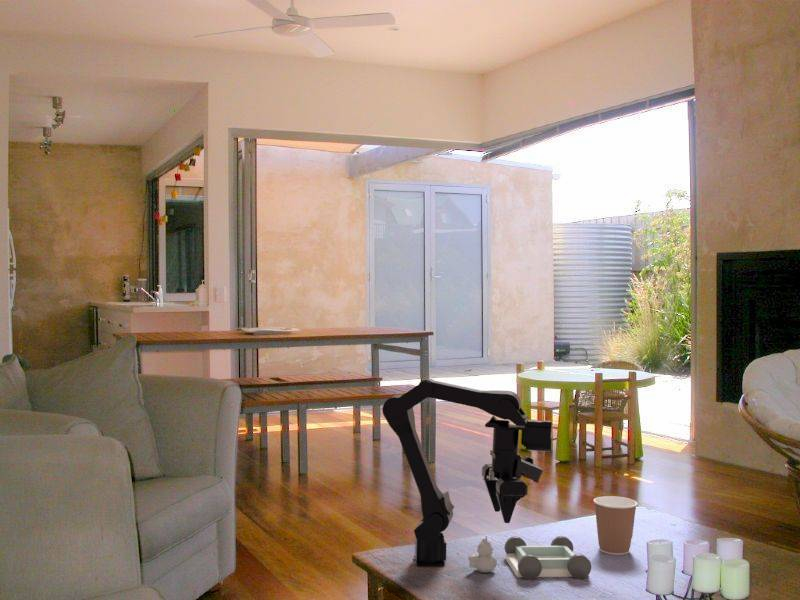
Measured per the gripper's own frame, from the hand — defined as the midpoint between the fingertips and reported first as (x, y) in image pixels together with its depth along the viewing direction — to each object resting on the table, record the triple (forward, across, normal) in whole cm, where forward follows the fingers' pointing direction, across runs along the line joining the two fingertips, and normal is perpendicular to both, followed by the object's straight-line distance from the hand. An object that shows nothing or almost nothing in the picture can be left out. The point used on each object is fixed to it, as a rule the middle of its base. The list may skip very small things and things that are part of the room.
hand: (501, 517), depth 192 cm
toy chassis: (+11, -1, -11) cm, 15 cm away
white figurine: (+12, -2, +4) cm, 13 cm away
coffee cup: (+11, +11, -31) cm, 35 cm away
